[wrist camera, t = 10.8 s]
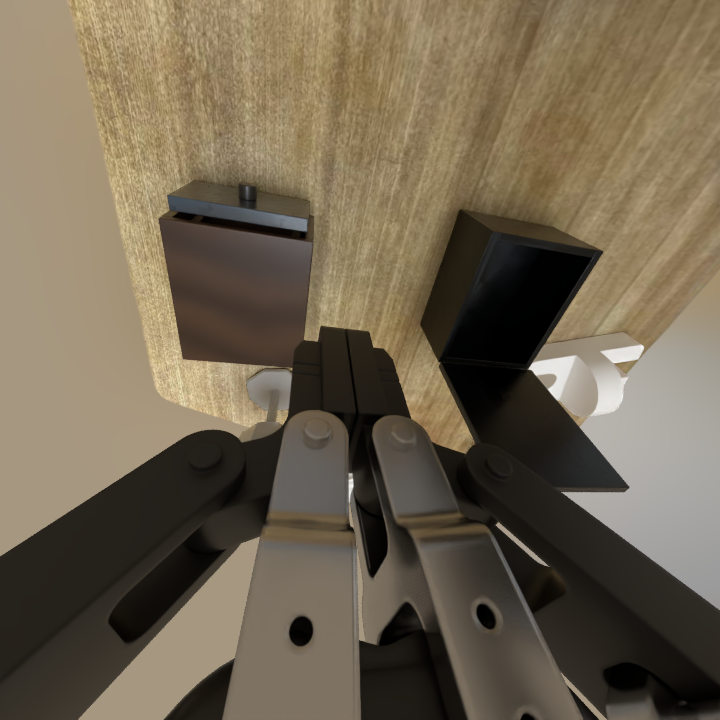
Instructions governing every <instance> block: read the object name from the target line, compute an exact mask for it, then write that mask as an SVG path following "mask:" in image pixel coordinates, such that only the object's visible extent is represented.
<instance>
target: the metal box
mask: <svg viewBox="0 0 720 720" xmlns="http://www.w3.org/2000/svg"><path fill="white" fill-rule="evenodd" d="M602 253H603V251H602V250H600V249H598V248H595V247H593V246H591V245H589V244H587V243H585V242H583V241H581V240H579V239H577V238H575V237H573V236H571V235H569V234H566V233H564V232H562V231H560V230H558V229H556V228H554V227H550V226H545V225H540V224H534V223H529V222H524V221H519V220H514V219H509V218H504V217H498V216H493V215H488V214H483V213H478V212H473V211H468V210H462V209H460V211H459V214H458V217H457V220H456V223H455V225H454V228H453V231H452V234H451V237H450V240H449V243H448V246H447V249H446V251H445V254H444V257H443V260H442V263H441V266H440V269H439V272H438V274H437V277H436V280H435V283H434V286H433V289H432V292H431V295H430V297H429V300H428V303H427V306H426V309H425V312H424V315H423V318H422V321H421V323H420V325H421V327H422V329H423V331H424V333H425V335H426V337H427V339H428V341H429V343H430V345H431V347H432V350H433V352H434V354H435V356H436V358H437V360H438V362H448V363H459V364H470V365H481V366H492V367H504V368H515V369H526V370H528V369H529V367H530V366H531V364H532V363H533V361H534V360H535V358H536V356H537V355H538V353H539V352H540V350H541V349H542V347H543V345H544V344H545V342H546V341H547V339H548V338H549V336H550V335H551V333H552V331H553V330H554V328H555V327H556V325H557V324H558V322H559V321H560V319H561V317H562V316H563V314H564V313H565V311H566V310H567V308H568V306H569V305H570V303H571V302H572V300H573V299H574V297H575V296H576V294H577V292H578V291H579V289H580V288H581V286H582V285H583V283H584V281H585V280H586V278H587V277H588V275H589V274H590V272H591V271H592V269H593V267H594V266H595V264H596V263H597V261H598V260H599V258H600V256H601V255H602Z"/></svg>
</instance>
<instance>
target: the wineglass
mask: <svg viewBox="0 0 720 720" xmlns="http://www.w3.org/2000/svg"><path fill="white" fill-rule="evenodd" d="M291 379H292V373H291V372H290V371H289V370H288V369H264V370H262V371H261V372H259V373H257V374H256V375H254V376H253V377H251V378H250V379H248V380H247V381H246V382H247V388H248V393H249V398H250V400H252V401H253V402H254V403H256V404H257V405H258V406H259V407H261V408H262V409H263V410H265V411H268V413H267V420H266V422H261V423H257V424H255V425H253V426H252V427H250V428H248V429H247V430H245V431H243V432H242V434H241V435H240V436H239V438H238V439H239V440H240V441H241V442H246V441H250V440H255V439H259V438H262V437H266V436H268V435H270V434H272V433H274V432H276V431H277V430H278V429H279V428H281V426H282V425H281V424H280V423H279V422H276V418H277V410H287V409H289V399H290V388H291Z"/></svg>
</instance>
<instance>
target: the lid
mask: <svg viewBox="0 0 720 720" xmlns="http://www.w3.org/2000/svg"><path fill="white" fill-rule="evenodd" d="M439 368H440V370H441V373H442V375H443V377H444V379H445V381H446V383H447V385H448V387H449V389H450V391H451V393H452V395H453V397H454V399H455V402H456V404H457V406H458V408H459V410H460V412H461V414H462V416H463V418H464V420H465V422H466V424H467V426H468V429H469V431H470V433H471V435H472V437H473V439H474V441H475V443H476V444H490V445H494V446H497V447H499V448H501V449H503V450H505V451H506V452H508V453H509V454H510V455H512V456H513V457H514V458H516V459H517V460H518V461H520V462H521V463H522V464H524V465H525V466H526V467H528V468H529V469H530V470H532V471H533V472H535V473H536V474H537V475H539V476H540V477H541V478H543V479H544V480H545V481H547V482H548V483H549V484H551V485H552V486H553V487H555V488H556V489H557V490H559V491H560V492H625V491H626V490H627V489H629V486H628V485H627V484H626V482H625V481H624V480H623V479H622V478H621V477H620V475H619V474H618V473H617V472H616V471H615V469H614V468H613V467H612V466H611V465H610V463H609V462H608V461H607V460H606V459H605V457H604V456H603V455H602V454H601V453H600V451H599V450H598V449H597V448H596V447H595V445H594V444H593V443H592V442H591V441H590V439H589V438H588V437H587V436H586V435H585V434H584V432H583V431H582V430H581V429H580V428H579V426H578V425H577V424H576V423H575V422H574V420H573V419H572V418H571V417H570V416H569V414H568V413H567V412H566V411H565V410H564V408H563V407H562V406H561V405H560V404H559V402H558V401H557V400H556V399H555V398H554V396H553V395H552V394H551V393H550V392H549V390H548V389H547V388H546V387H545V386H544V384H543V383H542V382H541V381H540V380H539V379H538V377H537V376H536V375H535V374H534V373H533V371H532V370H526V369H515V368H503V367H492V366H481V365H470V364H458V363H447V362H441V363H440V365H439Z"/></svg>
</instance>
